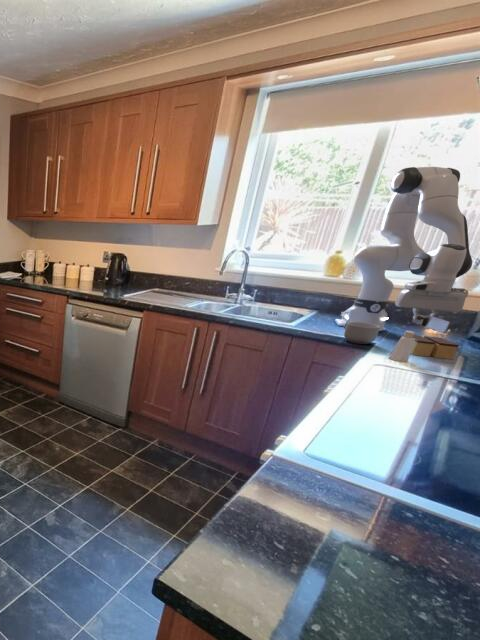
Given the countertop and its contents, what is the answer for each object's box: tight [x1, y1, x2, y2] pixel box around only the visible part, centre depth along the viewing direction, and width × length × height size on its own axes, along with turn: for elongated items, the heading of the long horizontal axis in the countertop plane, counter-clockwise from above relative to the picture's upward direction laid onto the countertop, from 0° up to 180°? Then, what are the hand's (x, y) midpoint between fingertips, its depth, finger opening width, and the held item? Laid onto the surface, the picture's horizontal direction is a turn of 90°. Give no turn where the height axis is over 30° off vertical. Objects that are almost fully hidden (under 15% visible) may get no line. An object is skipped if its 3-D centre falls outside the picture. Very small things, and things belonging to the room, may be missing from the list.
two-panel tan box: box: [401, 333, 459, 360], centre depth 170 cm, size 12×12×6 cm
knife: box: [411, 314, 451, 334], centre depth 170 cm, size 22×2×4 cm, turn 157°
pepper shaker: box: [388, 330, 416, 363], centre depth 159 cm, size 5×5×11 cm
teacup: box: [343, 321, 380, 345], centre depth 184 cm, size 14×11×8 cm
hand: (421, 320), depth 176 cm, fingers closed on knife, 2 cm apart
